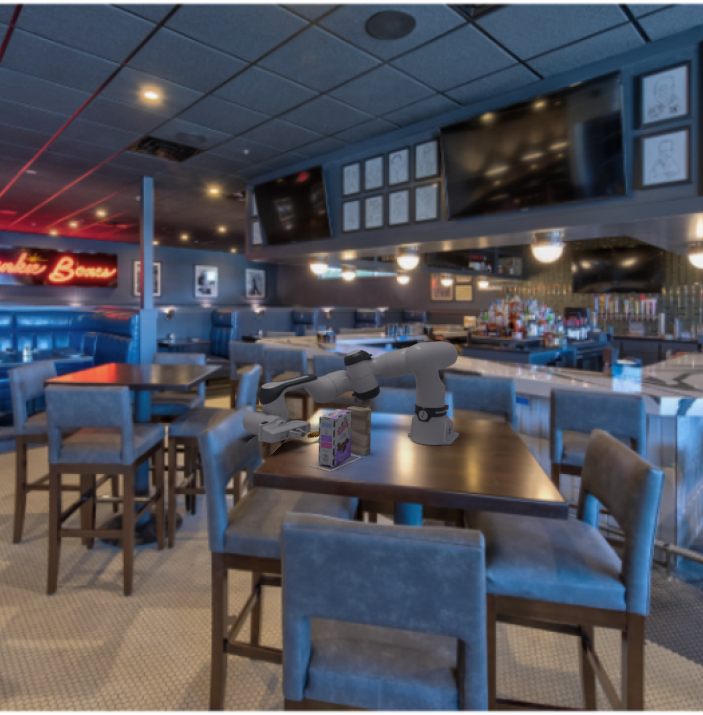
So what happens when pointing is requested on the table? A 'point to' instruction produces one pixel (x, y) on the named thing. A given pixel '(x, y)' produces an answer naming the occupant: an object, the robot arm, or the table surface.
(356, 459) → the slot outline
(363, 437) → the ash tower
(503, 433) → the table surface
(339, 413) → the candy box
